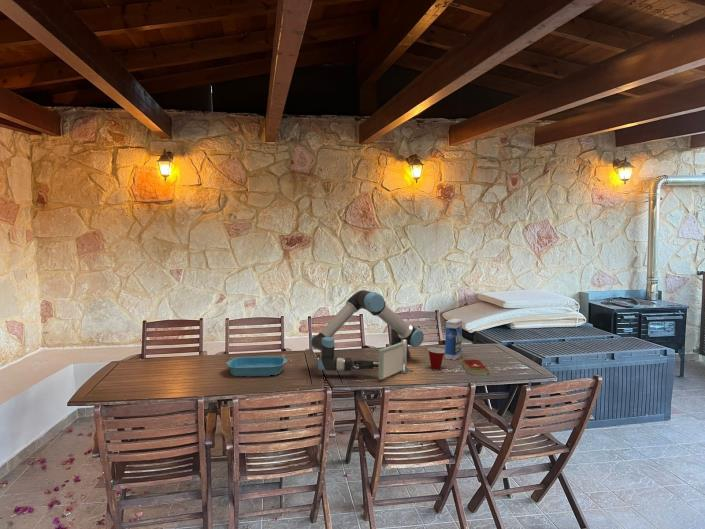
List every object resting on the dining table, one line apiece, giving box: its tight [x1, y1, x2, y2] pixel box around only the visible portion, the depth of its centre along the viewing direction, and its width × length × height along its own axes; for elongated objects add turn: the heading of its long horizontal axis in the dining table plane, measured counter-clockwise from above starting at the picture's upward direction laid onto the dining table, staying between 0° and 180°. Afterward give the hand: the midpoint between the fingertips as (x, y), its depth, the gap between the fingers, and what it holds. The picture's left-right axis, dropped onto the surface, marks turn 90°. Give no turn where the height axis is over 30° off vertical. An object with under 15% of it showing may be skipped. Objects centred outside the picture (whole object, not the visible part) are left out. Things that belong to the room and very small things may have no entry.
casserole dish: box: [225, 355, 288, 377], centre depth 286 cm, size 37×22×7 cm, turn 93°
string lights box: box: [444, 318, 463, 361], centre depth 321 cm, size 13×8×26 cm, turn 148°
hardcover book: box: [460, 358, 490, 375], centre depth 295 cm, size 12×21×4 cm, turn 0°
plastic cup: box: [427, 347, 445, 370], centre depth 296 cm, size 11×11×12 cm
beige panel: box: [377, 343, 403, 380], centre depth 278 cm, size 23×2×17 cm, turn 142°
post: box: [398, 339, 414, 375], centre depth 289 cm, size 8×8×20 cm
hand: (384, 365), depth 277 cm, fingers closed
